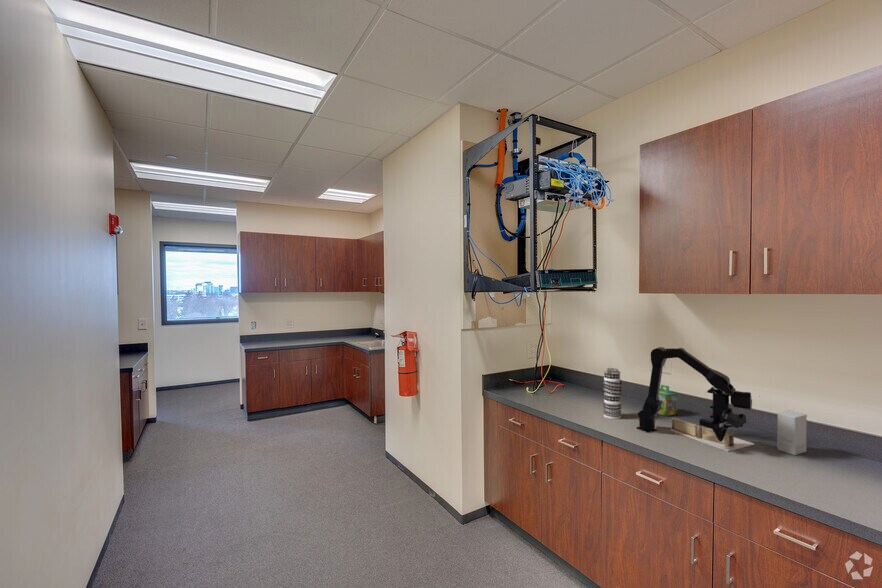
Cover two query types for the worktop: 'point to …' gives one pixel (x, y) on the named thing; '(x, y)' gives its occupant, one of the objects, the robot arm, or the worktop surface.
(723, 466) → the worktop surface
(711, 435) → the folding fence panel
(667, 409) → the chalk box
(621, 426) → the worktop surface
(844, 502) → the worktop surface
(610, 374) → the decorative candle
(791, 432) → the skincare box
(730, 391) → the robot arm
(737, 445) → the fence post and layout card
